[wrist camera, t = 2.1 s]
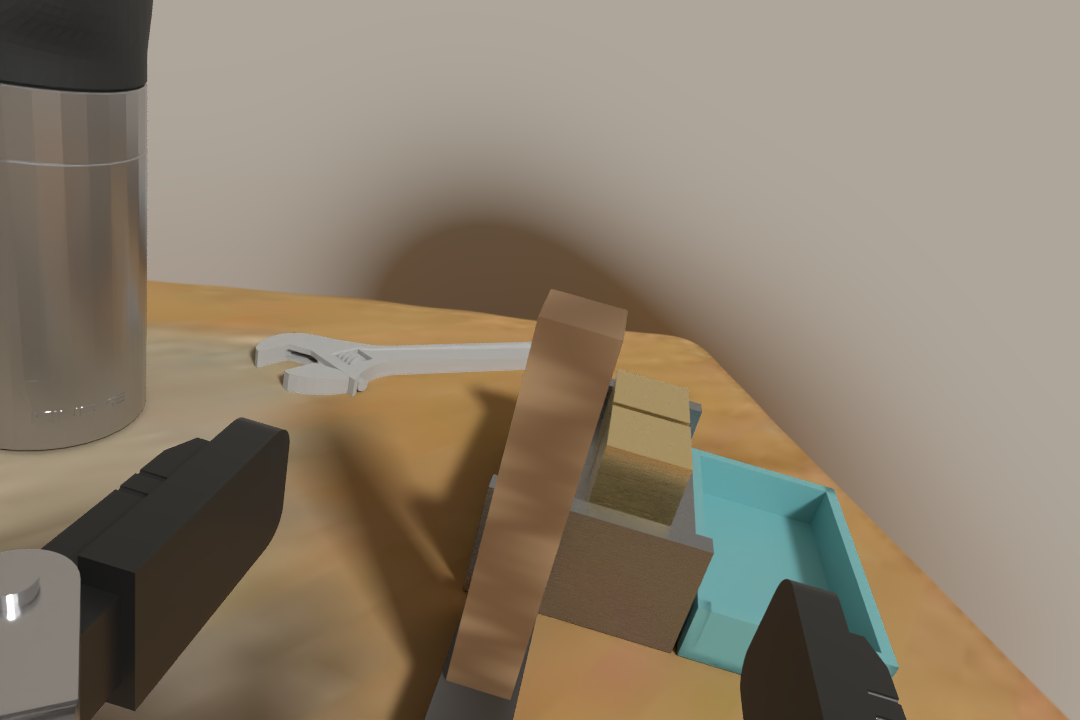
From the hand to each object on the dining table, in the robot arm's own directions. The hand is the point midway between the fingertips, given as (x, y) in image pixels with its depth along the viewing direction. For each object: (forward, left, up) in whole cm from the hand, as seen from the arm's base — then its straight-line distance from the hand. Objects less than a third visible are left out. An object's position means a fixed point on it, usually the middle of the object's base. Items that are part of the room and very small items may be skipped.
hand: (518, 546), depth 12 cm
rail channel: (-9, +22, -17) cm, 30 cm away
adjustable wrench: (-27, +28, -18) cm, 42 cm away
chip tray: (-1, +27, -17) cm, 32 cm away
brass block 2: (-7, +21, -13) cm, 26 cm away
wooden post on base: (-6, +10, -17) cm, 21 cm away
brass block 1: (-9, +25, -13) cm, 30 cm away
